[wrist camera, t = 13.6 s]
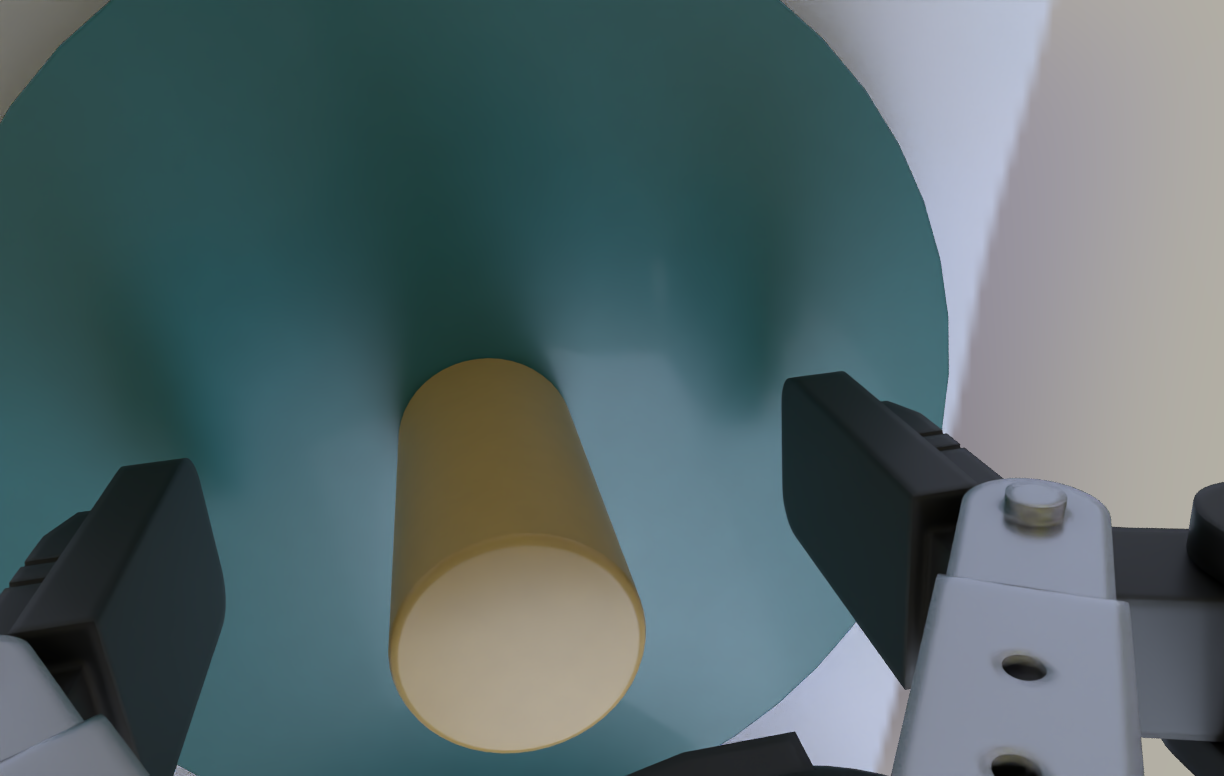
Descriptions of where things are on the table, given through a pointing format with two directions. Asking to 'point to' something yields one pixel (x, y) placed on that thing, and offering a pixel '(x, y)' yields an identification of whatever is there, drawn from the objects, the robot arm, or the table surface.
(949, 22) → the table surface
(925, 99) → the table surface
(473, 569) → the lid
